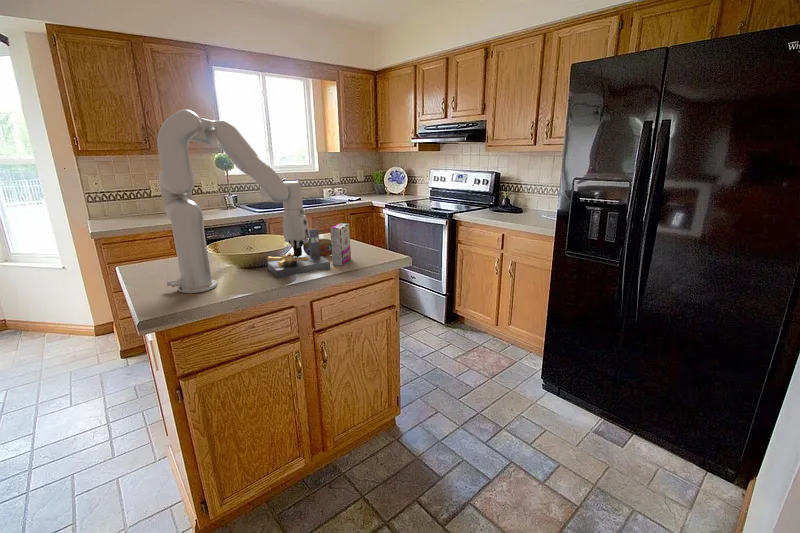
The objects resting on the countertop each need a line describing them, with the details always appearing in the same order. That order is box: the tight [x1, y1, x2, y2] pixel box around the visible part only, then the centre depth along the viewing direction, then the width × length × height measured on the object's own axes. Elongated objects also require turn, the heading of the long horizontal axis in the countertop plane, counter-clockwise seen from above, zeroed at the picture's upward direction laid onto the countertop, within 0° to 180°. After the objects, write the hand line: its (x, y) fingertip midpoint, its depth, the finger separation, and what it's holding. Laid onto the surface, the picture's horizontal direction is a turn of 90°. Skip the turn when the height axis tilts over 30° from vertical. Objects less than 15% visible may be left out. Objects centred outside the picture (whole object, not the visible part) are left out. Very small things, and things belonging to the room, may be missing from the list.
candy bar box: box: [329, 223, 352, 267], centre depth 164 cm, size 11×5×16 cm, turn 168°
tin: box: [302, 238, 332, 258], centre depth 176 cm, size 15×3×8 cm, turn 77°
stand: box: [266, 228, 331, 279], centre depth 155 cm, size 22×14×15 cm, turn 123°
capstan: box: [266, 251, 308, 267], centre depth 151 cm, size 17×17×4 cm
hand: (298, 256), depth 157 cm, fingers closed
